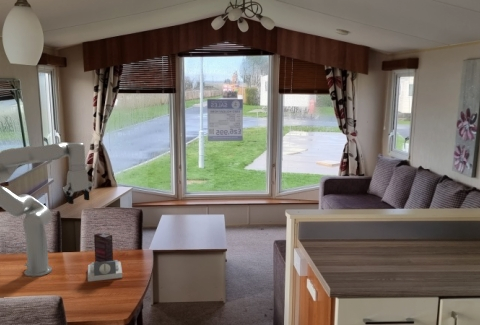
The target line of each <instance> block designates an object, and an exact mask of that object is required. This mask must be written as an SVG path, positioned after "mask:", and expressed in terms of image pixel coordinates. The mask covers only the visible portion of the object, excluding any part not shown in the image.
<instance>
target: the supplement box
mask: <svg viewBox="0 0 480 325" xmlns="http://www.w3.org/2000/svg"><path fill="white" fill-rule="evenodd" d="M93 239H94V240H93V242H94V262H104V261H113V260H114V253H113V252H114V250H113V235H112V234H109V233H105V232H98V233H95V234H93Z"/></svg>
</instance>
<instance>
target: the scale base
mask: <svg viewBox="0 0 480 325" xmlns="http://www.w3.org/2000/svg"><path fill="white" fill-rule="evenodd" d="M115 260H116V259H113V261H104V262H95V261H93V262H94V273H91V263H90V264H88V265H87V282H95V281H103V280H106V281H107V280H113V279H122V278H123V268H122V263H121V260H120V261H118V267H119V270H116V263H115Z"/></svg>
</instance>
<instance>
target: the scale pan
mask: <svg viewBox="0 0 480 325" xmlns="http://www.w3.org/2000/svg"><path fill="white" fill-rule="evenodd" d="M114 260H115V263H116V270H119V267H118V262H119V261H118V259H114ZM94 262H95V261H92V262H91V263H90V264H91V273H94Z"/></svg>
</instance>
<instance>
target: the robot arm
mask: <svg viewBox="0 0 480 325" xmlns="http://www.w3.org/2000/svg"><path fill="white" fill-rule="evenodd" d="M85 147H86V145H85V144H84V143H83V142H66V141H60V142H56V143H53V144H46V145H40V146H33V145H28V146H23V147H22V146H21V147H16V148H8V149H3V150H1V151H0V208H2V209H3V210H4V211H6V212H7V213H8V214H10V215H11V216H13V217H15V218H16V217H17V218H19V217H22V216H23V215H25V217H24V219H23V221H22V226H23V231H24V234H25V235H24V237H25V246H26V260H27V262H26V263H24V266H26V269H25V270H24V276H27V277H32V278H33V277H41V276H45V275H47V274H51V272H52V271H53V268H52V266H50V265H49V253H48V252H49V251H48V239H47V238H48V237H47V236H48V235H47V232H46V225H48V224H49V223H50V222H51V220H52V218H53V215H52V214H53V213H52V211H51V210H50V209H49V208H48V207H47V206H46V205H44V204H43V203H41V201H39V200H37V199H36V198H35V197H34V196H32V195H30V194H25V193H23V194H19V195H17V194H16V193H14V192H12V191H11V190H10V189H9V188H6V187H4V186H2V185H1V184H3V183H5V182H6V181H8V180H9V179H10V178H11V177H12V176H13V174H14V173H15V172H16V170H17V169H18V168H19V167H20V166H23V165H32V164H36V163H37V164H38V163H43V162H44V163H45V162H50V161H56V160H60V159H62V158H66V157H68V171H67V174H66V185H65V186H63V187H62V191H63V192H64V194H65V195H66V196H67V204H69V205H73V204H74V193H76V192H80V191H83V199H84V200H85V201H90V192H91V189H93V185H94V183H93V182H92V181H90V180H89V176H88V171H87V169H86V167H87V166H88V165H87V164H86V153H85V152H86V149H85Z"/></svg>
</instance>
